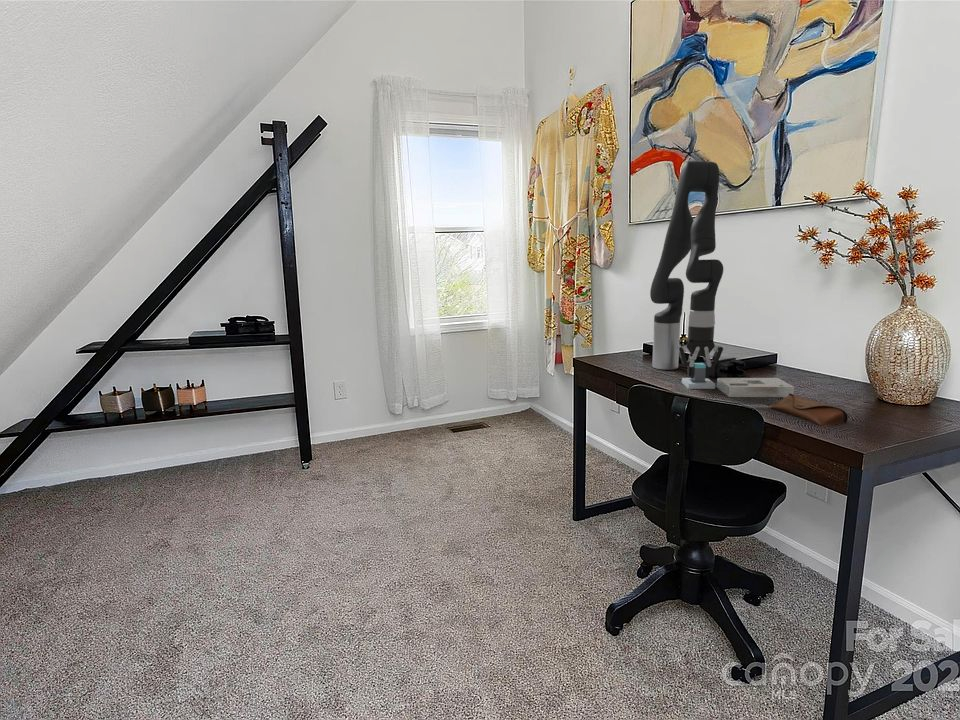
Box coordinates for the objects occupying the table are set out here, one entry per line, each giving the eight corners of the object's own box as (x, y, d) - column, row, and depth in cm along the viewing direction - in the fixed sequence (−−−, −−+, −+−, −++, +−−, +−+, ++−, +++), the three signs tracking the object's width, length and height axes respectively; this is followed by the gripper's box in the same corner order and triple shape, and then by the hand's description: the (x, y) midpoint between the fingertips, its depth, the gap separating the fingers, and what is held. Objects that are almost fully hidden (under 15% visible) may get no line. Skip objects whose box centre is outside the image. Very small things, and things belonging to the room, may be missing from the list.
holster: (681, 385, 177) (681, 377, 177) (706, 385, 177) (707, 377, 176) (688, 391, 170) (688, 383, 169) (714, 391, 169) (715, 383, 168)
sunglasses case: (765, 407, 152) (776, 386, 151) (781, 416, 154) (792, 396, 154) (822, 426, 135) (835, 402, 135) (839, 437, 137) (852, 413, 137)
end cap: (727, 375, 190) (728, 356, 188) (744, 379, 184) (746, 359, 182) (707, 378, 185) (708, 359, 184) (724, 383, 179) (725, 363, 178)
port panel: (728, 400, 160) (729, 385, 159) (716, 390, 170) (717, 377, 169) (793, 400, 158) (794, 385, 157) (776, 390, 168) (777, 376, 168)
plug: (691, 384, 175) (692, 362, 173) (701, 384, 174) (702, 362, 173) (694, 386, 172) (695, 365, 170) (704, 386, 171) (705, 365, 170)
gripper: (720, 322, 172) (717, 375, 175) (674, 323, 173) (672, 375, 177) (729, 325, 165) (725, 380, 168) (681, 326, 166) (678, 380, 170)
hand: (698, 377), depth 172 cm, fingers open, 4 cm apart
